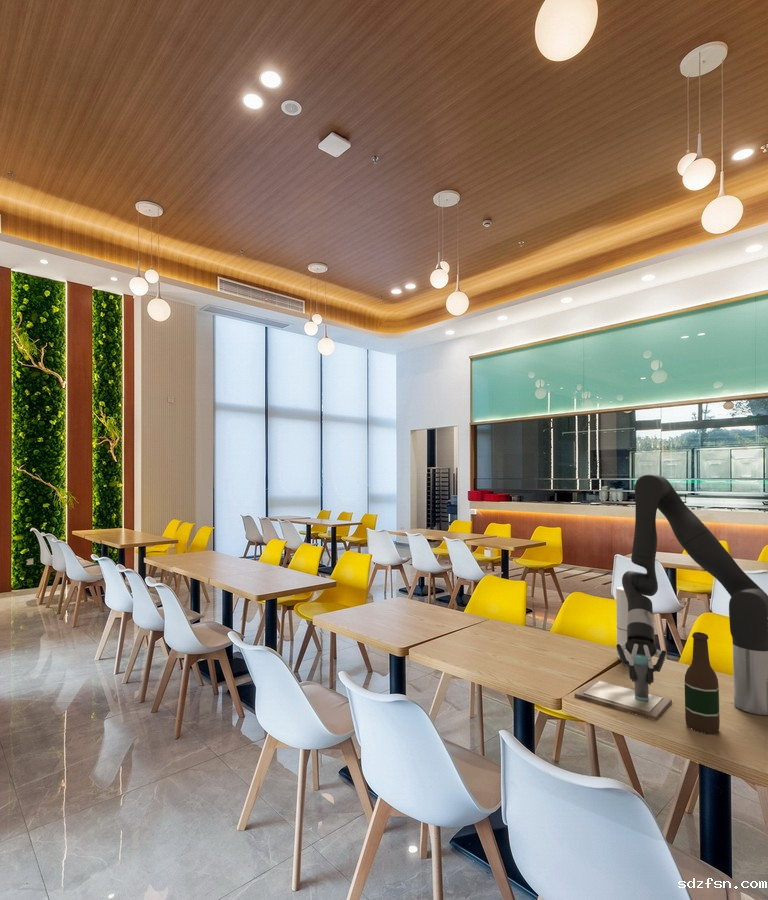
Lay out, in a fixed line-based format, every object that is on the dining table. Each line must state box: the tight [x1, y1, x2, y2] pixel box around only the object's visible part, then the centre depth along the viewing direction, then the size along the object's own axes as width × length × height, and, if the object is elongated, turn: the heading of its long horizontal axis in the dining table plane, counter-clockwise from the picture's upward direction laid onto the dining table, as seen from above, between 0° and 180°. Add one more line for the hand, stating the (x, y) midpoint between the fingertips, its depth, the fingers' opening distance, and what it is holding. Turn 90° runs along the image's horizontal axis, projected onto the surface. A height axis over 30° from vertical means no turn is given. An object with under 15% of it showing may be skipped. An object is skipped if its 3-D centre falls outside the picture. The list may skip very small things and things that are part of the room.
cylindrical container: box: [615, 586, 631, 661], centre depth 190 cm, size 7×7×25 cm
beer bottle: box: [684, 631, 721, 735], centre depth 136 cm, size 8×8×24 cm
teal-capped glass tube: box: [633, 654, 650, 702], centre depth 150 cm, size 4×4×12 cm
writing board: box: [574, 678, 673, 721], centre depth 152 cm, size 22×16×1 cm
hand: (641, 681), depth 148 cm, fingers closed on teal-capped glass tube, 3 cm apart
